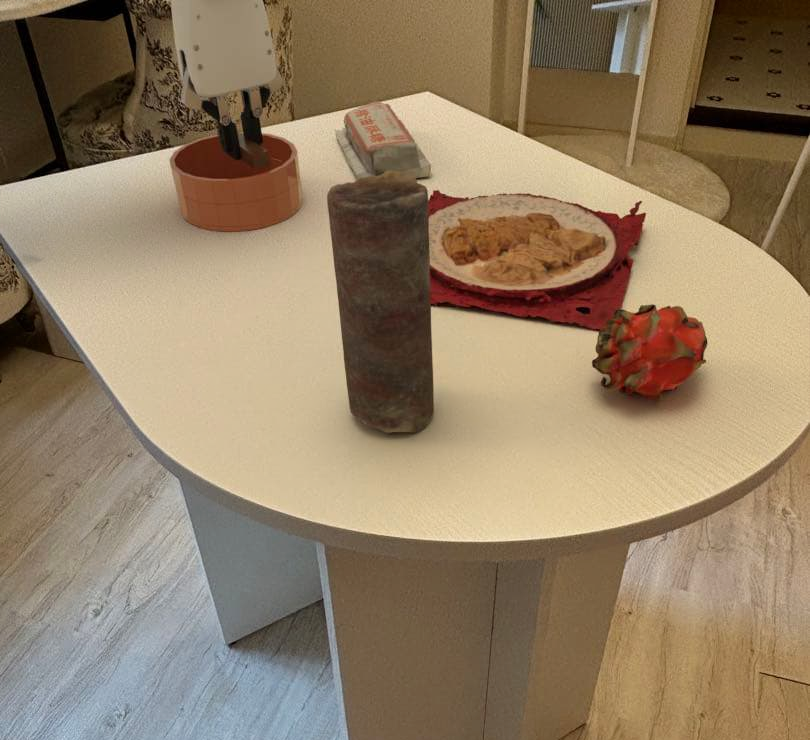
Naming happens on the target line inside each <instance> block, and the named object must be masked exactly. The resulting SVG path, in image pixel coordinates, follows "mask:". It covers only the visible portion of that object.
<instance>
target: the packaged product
mask: <svg viewBox="0 0 810 740" xmlns="http://www.w3.org/2000/svg"><path fill="white" fill-rule="evenodd" d="M343 124H344V127H342V129H341V130H339V129H334V134H335V138H336V140H337V141H338V143H339V145H340V147H341V149H342V151H343V153H344V155H345V158H346V161H347V163H348V167H349V168H351V169H352V172H353V173H354V175H355V177H356V180H358V179H361V178H367V177H372V176H380V175H382V174H383V173H385V172H386V171H390V170H393V171H397V172H403V173H407V174H409V175H411V176H415V177H416V179H418V178H427V177H428V178H429V177H431V172H432V171H431V169H432V164H430V161H429V160H428V159H427V157H426V156H425V154H424V153H423V152H422V151H423V150H422V149H421V148H420V146H419V145H418V143H416V141H415V139H414V138H413V136H412V135H411V133H410V131H409V130H408V128H407V127H406V125H405V124H404V123H403V121H402V120H401V119H399V117H398V115H397V114H396V113H395V112H394V110H393V109H392V107H391V106H390V103H384V102H381V101H372V102H370V103H368V104H364V105H363V106H360V107H357V108H355V109H352V110H350V111H348V112H347V113H345V115H344V117H343Z"/></svg>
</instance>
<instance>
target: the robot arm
mask: <svg viewBox="0 0 810 740" xmlns="http://www.w3.org/2000/svg"><path fill="white" fill-rule="evenodd" d="M170 9H171V19H172V29H173V30H172V31H173V38H174V45H175V47H174V48H175V53H176V60H177V66H178V71H179V76H180V80H181V82H182V88H181V97H180V103H181V104H182V105H183V106H184V107H186V108H187V109H190V110H195V111H200V112H204V113H206V114H207V115H209V116H210V117H211V118H212V119H214V120H215V121H216V125H217V130H218V131H219V136H220V141H221V146H222V149H223V151H224V152H226V153H227V154H228V155H229V156H230V157H232V158H233V159H234V160H236V161H237V160H240V159H241V153H240V148H239V146H240V144H239V138H238V133H237V130H238V127H237V125H236V124H235V123H234V122H233V120H232V116H231V113H230V107H229V101H228V96H227V95H231V94H234V93H238V92H240V96H241V103H242V107H243V108H242V110H243V111H241V112H240V122H241V123H240V124H241V127H242V132H243V134H244V135H245V136H246V137H248V138H249V139H251V140H252V141H254V142H255V143H257V144H258V145H260V146H261V143H263V138H262V133H263V132H262V126H261V119H260V118H262V116H263V113H264V112H263V109H264V107H265V106H266V104H267V102H268V101H269V98H270V97H271V95H273V94H274V93H275V92H277V91H279V89H281V88H282V87H283V86H284V82H285V81H284V79H283V76H282V75H281V73H280V71H279V69H278V67H277V61H276V54H275V48H274V42H273V37H272V33H271V28H270V23H269V18H268V14H267V10H266V6H265V4H264V1H263V0H170Z"/></svg>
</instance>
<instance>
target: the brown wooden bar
mask: <svg viewBox="0 0 810 740" xmlns="http://www.w3.org/2000/svg"><path fill="white" fill-rule="evenodd" d="M216 132H217V135H218V138H219V143H220V144H221V141H220V136H219V131H218V129H217V130H216ZM241 132H242V131H240V130H238V129H237V133H238V138H239V144H240V146H239V148H240V153H241V160H243V161H244V162H245V163H247V164H248V165H249V166H251V167H252V168H254V169H258V168H262V167H265V166H269V165H270V162H269V155H268V151H267V150H266V149H264V148H263V147H261V146H260V145H258V144H257V143H255V142H254V141H252V140H251V139H249V138H248V137H246V136H245V135H244V134H242V133H241Z"/></svg>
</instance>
